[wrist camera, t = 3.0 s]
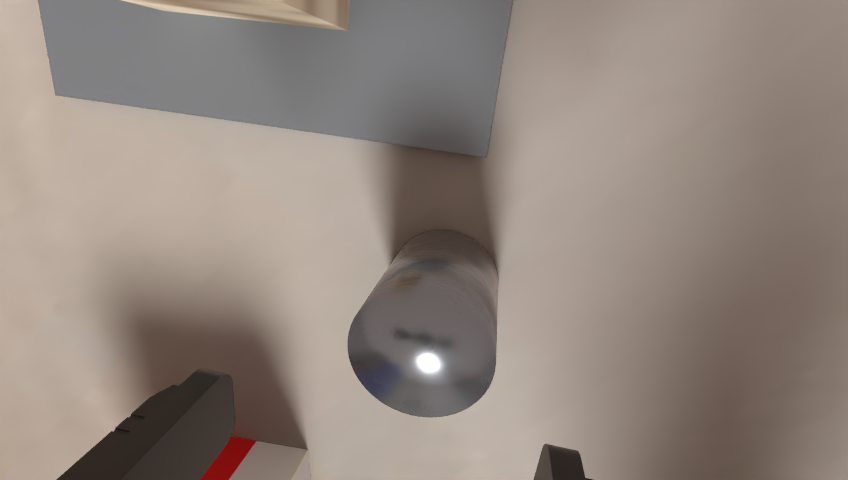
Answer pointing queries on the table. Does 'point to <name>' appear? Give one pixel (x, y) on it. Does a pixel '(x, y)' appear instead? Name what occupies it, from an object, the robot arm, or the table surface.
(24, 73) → the table surface
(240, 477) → the puzzle toy
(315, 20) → the base block
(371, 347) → the metal cylinder
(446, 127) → the slate mat
